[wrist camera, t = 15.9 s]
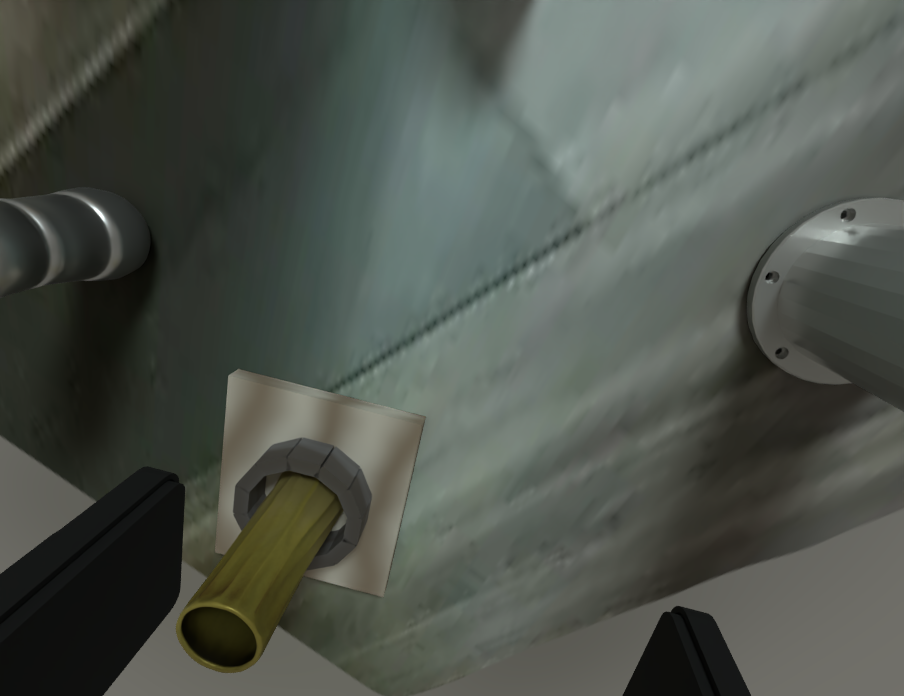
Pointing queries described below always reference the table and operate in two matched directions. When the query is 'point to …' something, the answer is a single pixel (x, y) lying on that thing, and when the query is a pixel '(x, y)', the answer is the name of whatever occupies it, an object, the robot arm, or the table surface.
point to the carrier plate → (335, 426)
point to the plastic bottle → (69, 239)
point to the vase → (258, 575)
